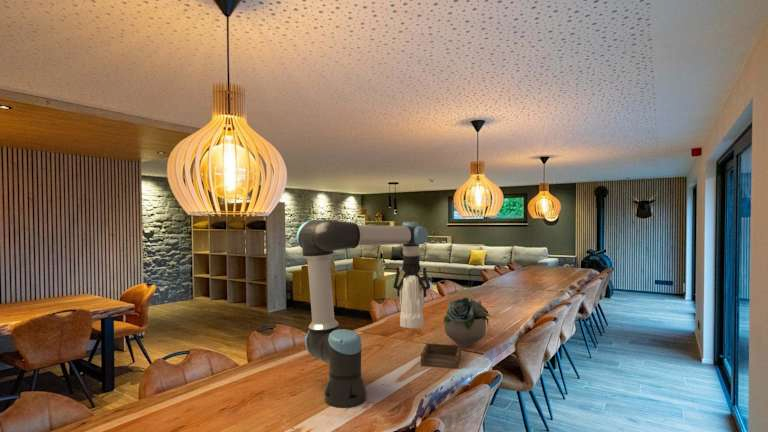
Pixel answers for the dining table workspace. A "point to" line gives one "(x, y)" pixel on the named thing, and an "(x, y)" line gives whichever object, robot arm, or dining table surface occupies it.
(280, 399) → the dining table surface
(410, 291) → the decorative vase
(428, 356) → the brown wooden tray
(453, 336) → the flower arrangement
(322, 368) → the dining table surface
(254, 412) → the dining table surface
